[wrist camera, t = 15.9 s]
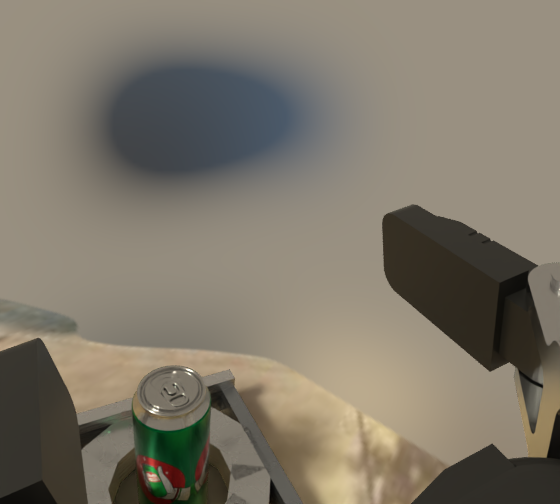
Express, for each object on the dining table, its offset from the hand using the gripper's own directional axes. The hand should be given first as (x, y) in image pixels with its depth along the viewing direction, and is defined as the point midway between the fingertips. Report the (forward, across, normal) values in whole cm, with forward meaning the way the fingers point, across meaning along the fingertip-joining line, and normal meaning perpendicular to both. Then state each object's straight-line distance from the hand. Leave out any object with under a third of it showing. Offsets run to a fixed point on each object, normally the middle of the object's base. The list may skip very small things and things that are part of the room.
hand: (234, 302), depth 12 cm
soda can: (+17, +4, +28) cm, 33 cm away
